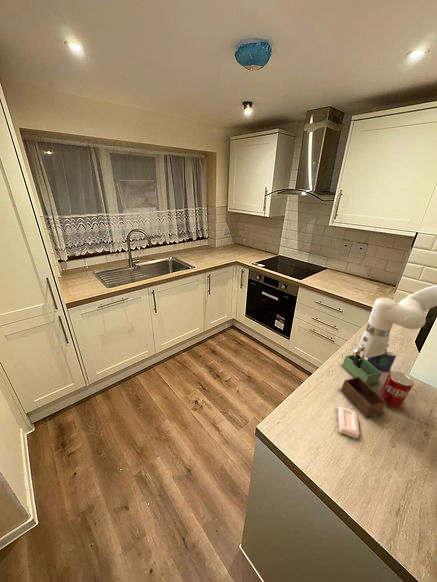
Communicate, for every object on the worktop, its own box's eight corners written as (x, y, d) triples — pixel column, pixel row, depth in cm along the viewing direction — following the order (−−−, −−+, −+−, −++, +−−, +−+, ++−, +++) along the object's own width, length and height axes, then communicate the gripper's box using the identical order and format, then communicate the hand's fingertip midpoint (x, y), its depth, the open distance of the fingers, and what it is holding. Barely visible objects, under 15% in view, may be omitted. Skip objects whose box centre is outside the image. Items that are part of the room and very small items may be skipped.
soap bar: (339, 433, 76) (341, 428, 75) (337, 410, 84) (339, 405, 83) (357, 439, 74) (360, 434, 73) (354, 415, 82) (356, 411, 81)
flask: (388, 368, 104) (397, 349, 99) (390, 373, 101) (399, 354, 96) (365, 362, 107) (372, 343, 102) (365, 366, 104) (373, 347, 100)
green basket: (342, 365, 104) (345, 356, 102) (354, 362, 106) (358, 353, 104) (364, 386, 94) (368, 376, 92) (377, 382, 96) (382, 372, 94)
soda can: (377, 391, 92) (387, 368, 87) (399, 398, 89) (411, 374, 84) (379, 405, 86) (390, 381, 81) (402, 413, 83) (416, 389, 78)
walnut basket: (340, 390, 92) (344, 380, 89) (355, 386, 94) (359, 376, 91) (366, 417, 82) (371, 406, 79) (381, 412, 83) (386, 402, 81)
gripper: (368, 338, 84) (356, 374, 92) (404, 330, 89) (389, 365, 96) (352, 327, 91) (342, 361, 98) (386, 320, 96) (374, 354, 103)
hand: (365, 363), depth 97 cm, fingers open, 9 cm apart
